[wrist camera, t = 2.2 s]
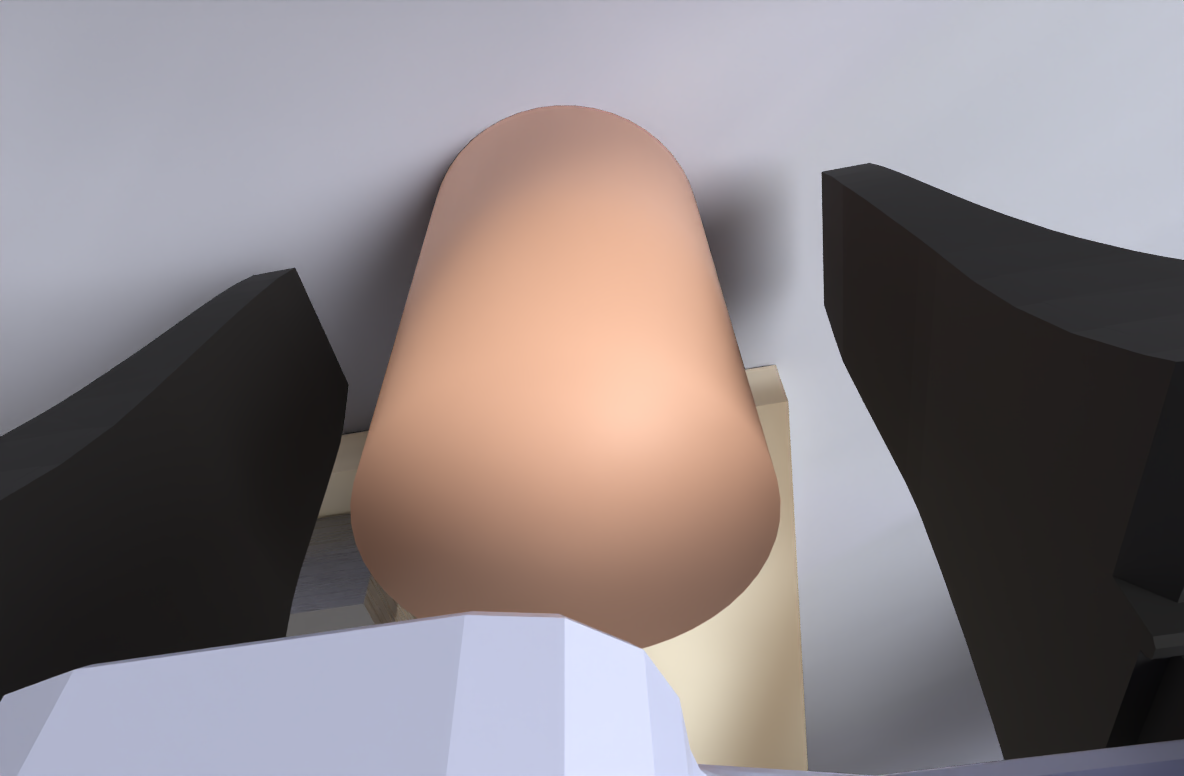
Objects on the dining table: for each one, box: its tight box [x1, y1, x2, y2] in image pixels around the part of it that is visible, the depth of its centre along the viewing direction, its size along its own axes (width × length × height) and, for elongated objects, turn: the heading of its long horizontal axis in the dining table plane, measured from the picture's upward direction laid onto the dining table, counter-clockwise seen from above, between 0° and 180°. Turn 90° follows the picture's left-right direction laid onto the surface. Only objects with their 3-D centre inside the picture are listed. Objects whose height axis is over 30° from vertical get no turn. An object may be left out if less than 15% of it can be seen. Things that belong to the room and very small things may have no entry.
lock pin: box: [286, 514, 418, 637], centre depth 17 cm, size 2×11×2 cm, turn 11°
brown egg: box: [350, 106, 781, 649], centre depth 10 cm, size 4×4×6 cm
